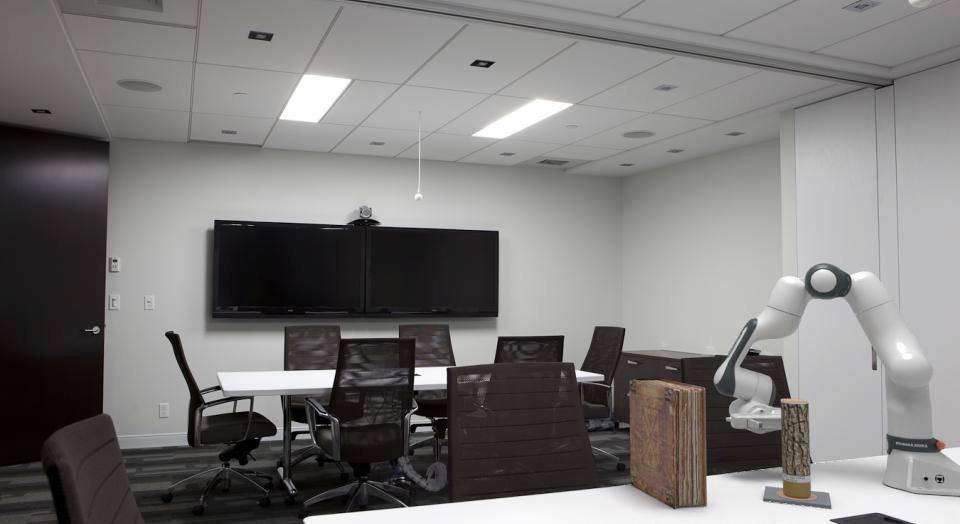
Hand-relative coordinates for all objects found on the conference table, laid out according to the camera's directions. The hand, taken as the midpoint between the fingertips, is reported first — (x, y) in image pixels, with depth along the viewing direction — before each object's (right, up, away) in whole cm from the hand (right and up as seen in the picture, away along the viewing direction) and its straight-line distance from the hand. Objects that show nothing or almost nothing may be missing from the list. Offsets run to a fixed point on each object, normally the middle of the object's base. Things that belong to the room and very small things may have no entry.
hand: (776, 425), depth 200 cm
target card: (0, -16, -14) cm, 21 cm away
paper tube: (-1, -15, -14) cm, 21 cm away
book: (-34, -16, -11) cm, 40 cm away
